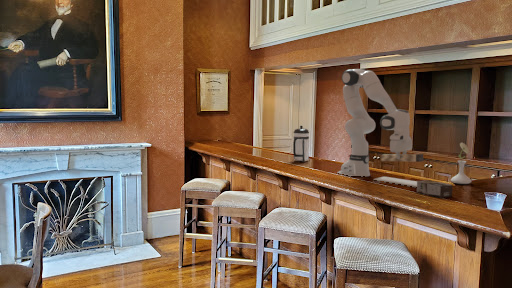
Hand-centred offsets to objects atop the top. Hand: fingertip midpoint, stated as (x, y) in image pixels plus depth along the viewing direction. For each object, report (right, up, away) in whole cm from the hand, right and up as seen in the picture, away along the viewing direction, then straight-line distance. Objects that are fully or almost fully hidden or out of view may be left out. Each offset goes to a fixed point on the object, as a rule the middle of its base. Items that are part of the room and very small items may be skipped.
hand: (401, 158), depth 253 cm
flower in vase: (+36, -15, -1) cm, 39 cm away
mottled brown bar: (0, -2, 0) cm, 2 cm away
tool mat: (0, -15, +2) cm, 15 cm away
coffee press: (-52, -6, +89) cm, 103 cm away
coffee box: (+4, -15, -22) cm, 27 cm away
